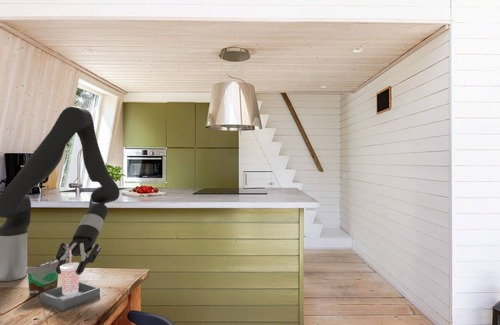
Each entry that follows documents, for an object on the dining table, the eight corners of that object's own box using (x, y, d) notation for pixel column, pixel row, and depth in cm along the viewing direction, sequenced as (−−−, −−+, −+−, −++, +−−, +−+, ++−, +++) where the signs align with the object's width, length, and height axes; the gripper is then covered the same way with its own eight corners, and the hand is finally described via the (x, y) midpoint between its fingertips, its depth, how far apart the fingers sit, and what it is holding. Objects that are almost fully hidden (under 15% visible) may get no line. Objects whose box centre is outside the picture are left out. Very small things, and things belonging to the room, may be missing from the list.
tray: (40, 302, 103) (40, 293, 103) (77, 288, 114) (77, 280, 114) (63, 311, 97) (63, 301, 97) (99, 296, 108) (99, 287, 108)
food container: (41, 299, 105) (41, 269, 105) (25, 297, 107) (26, 267, 107) (69, 284, 117) (69, 258, 117) (55, 283, 119) (55, 256, 119)
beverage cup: (55, 296, 102) (55, 253, 102) (65, 288, 108) (65, 247, 108) (75, 296, 102) (75, 253, 102) (84, 288, 108) (84, 247, 108)
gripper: (65, 223, 113) (41, 267, 102) (104, 224, 112) (84, 268, 101) (74, 234, 119) (52, 277, 107) (111, 235, 118) (93, 279, 106)
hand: (68, 273), depth 104 cm, fingers closed on beverage cup, 6 cm apart
